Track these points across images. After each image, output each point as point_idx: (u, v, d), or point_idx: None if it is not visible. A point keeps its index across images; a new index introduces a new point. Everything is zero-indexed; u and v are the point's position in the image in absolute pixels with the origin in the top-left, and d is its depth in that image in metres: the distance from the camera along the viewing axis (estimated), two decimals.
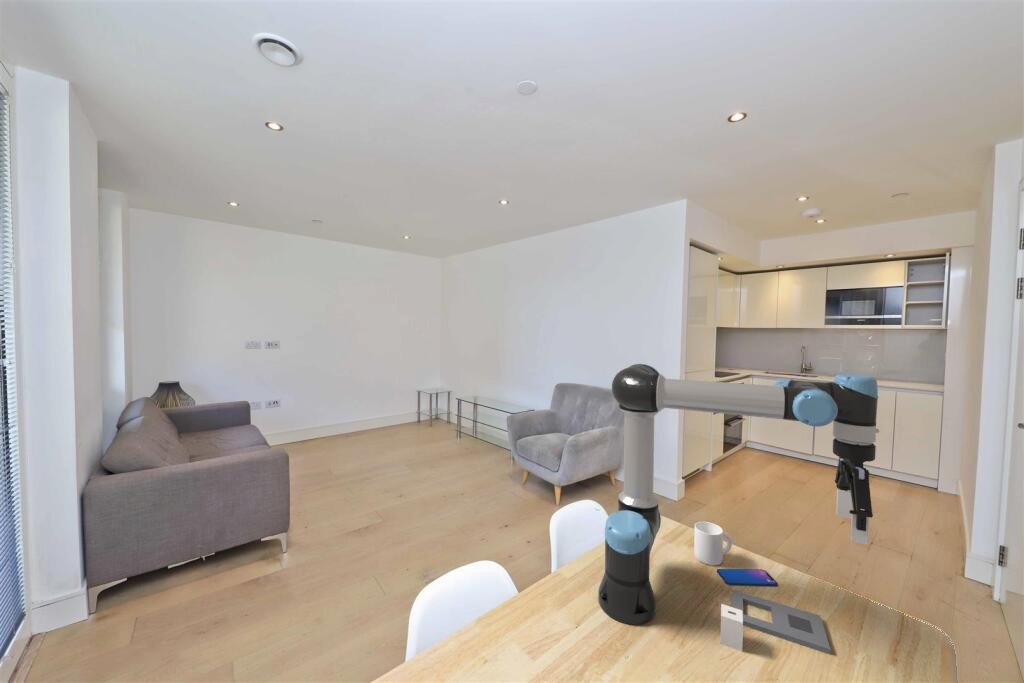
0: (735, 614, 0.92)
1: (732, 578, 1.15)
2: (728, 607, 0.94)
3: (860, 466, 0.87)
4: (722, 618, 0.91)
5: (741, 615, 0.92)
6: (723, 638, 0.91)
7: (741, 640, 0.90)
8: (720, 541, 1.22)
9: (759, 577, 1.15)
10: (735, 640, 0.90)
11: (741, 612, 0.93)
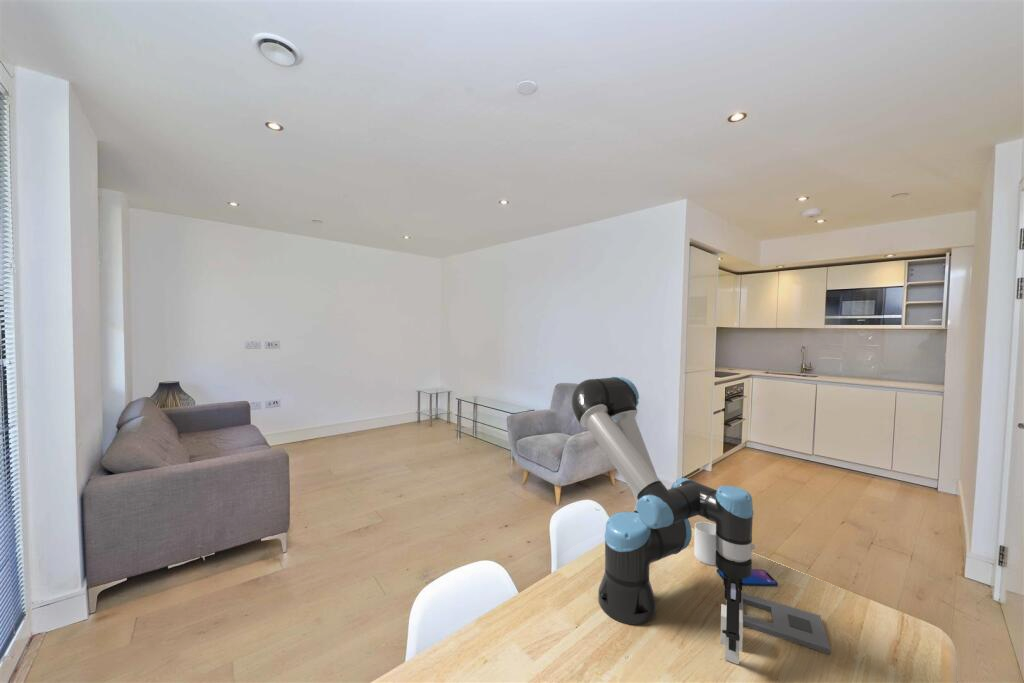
0: None
1: None
2: None
3: (735, 583, 0.88)
4: (722, 618, 0.91)
5: (741, 615, 0.92)
6: (723, 638, 0.91)
7: (741, 640, 0.90)
8: None
9: (759, 577, 1.15)
10: None
11: (741, 612, 0.93)
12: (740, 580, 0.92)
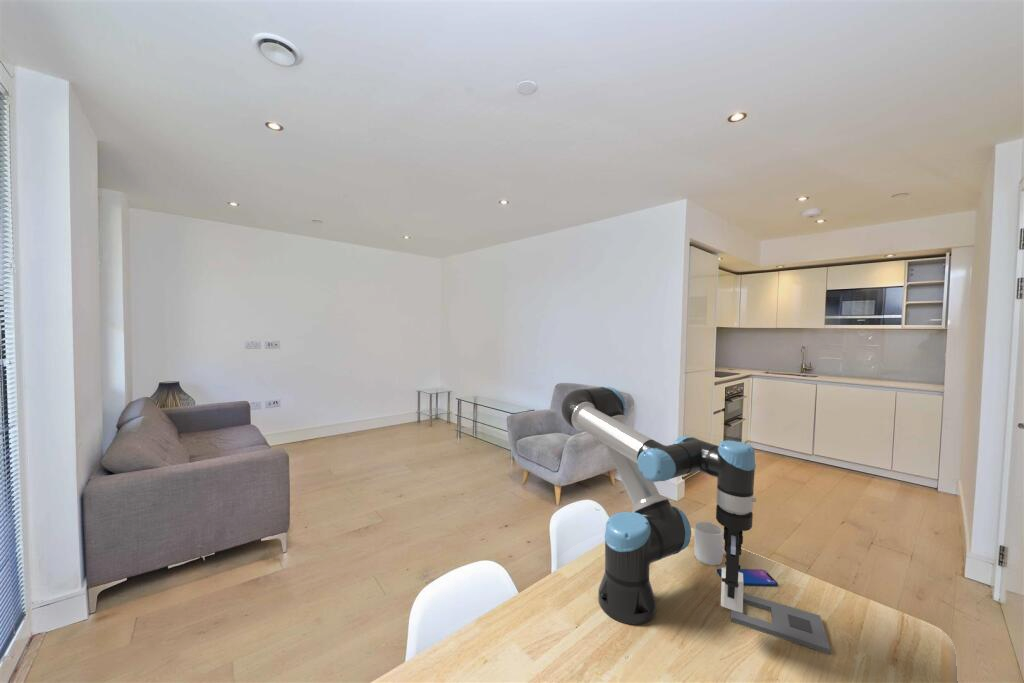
0: None
1: None
2: None
3: (735, 538, 0.88)
4: None
5: (741, 577, 0.91)
6: (723, 600, 0.91)
7: (741, 601, 0.89)
8: (720, 541, 1.22)
9: (759, 577, 1.15)
10: None
11: (741, 574, 0.92)
12: (740, 533, 0.92)
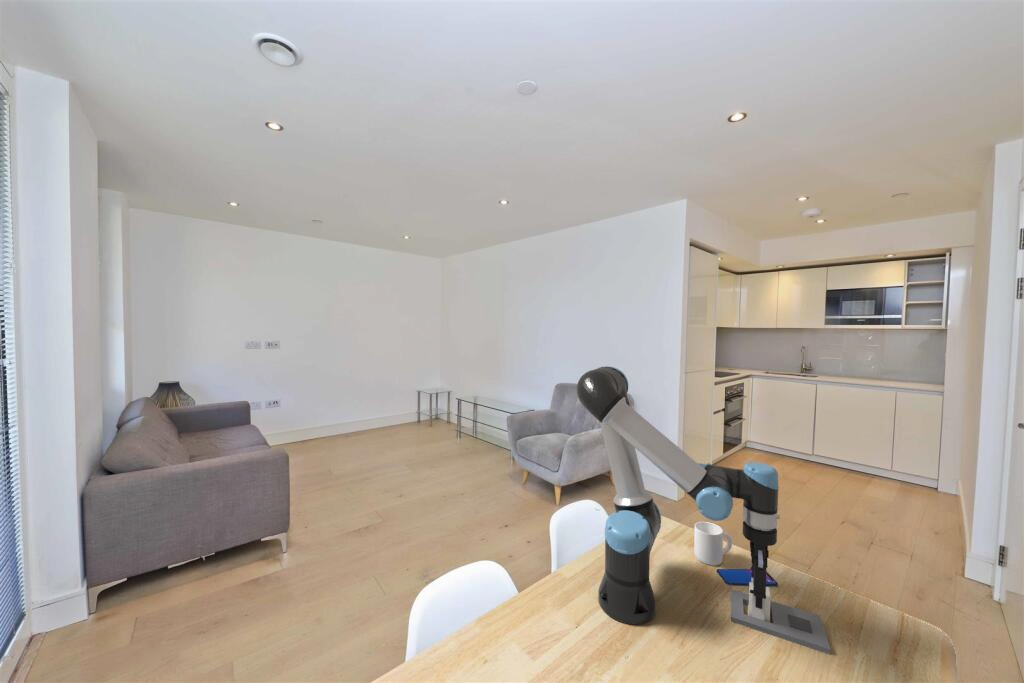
0: None
1: (731, 578, 1.15)
2: None
3: (762, 552, 0.96)
4: (751, 594, 1.00)
5: (768, 592, 1.00)
6: (751, 612, 1.00)
7: (768, 614, 0.98)
8: (720, 541, 1.22)
9: None
10: None
11: (768, 589, 1.01)
12: (766, 547, 1.00)
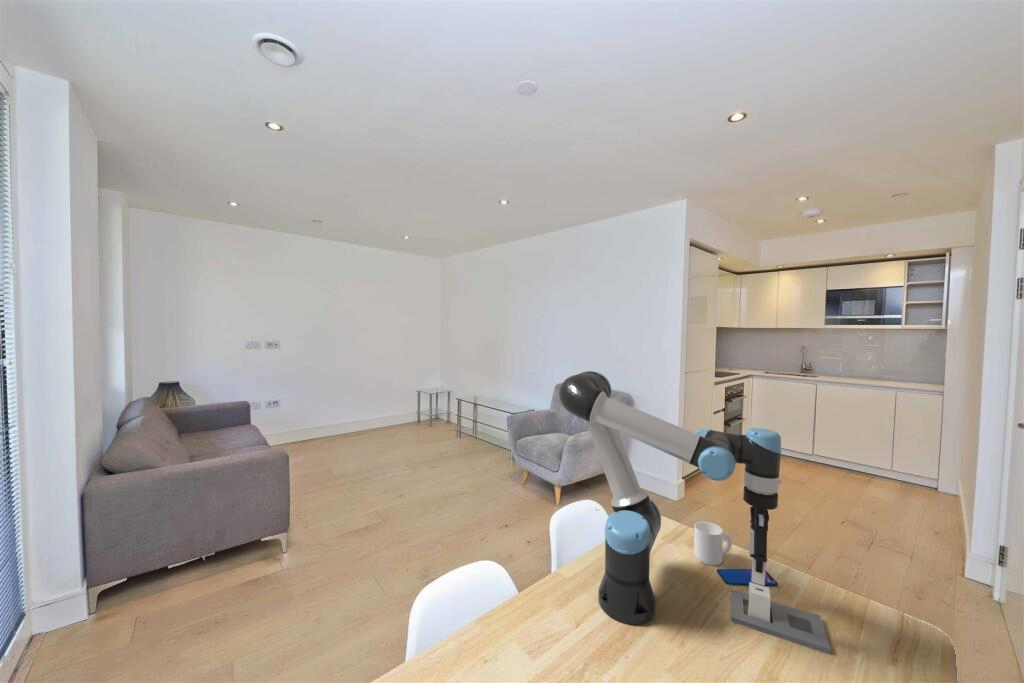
0: (763, 590, 1.00)
1: (731, 578, 1.15)
2: (756, 585, 1.02)
3: (762, 514, 0.96)
4: (751, 594, 1.00)
5: (768, 592, 1.00)
6: (751, 612, 1.00)
7: (768, 614, 0.98)
8: (720, 541, 1.22)
9: None
10: (763, 614, 0.98)
11: (768, 589, 1.01)
12: (766, 513, 1.00)
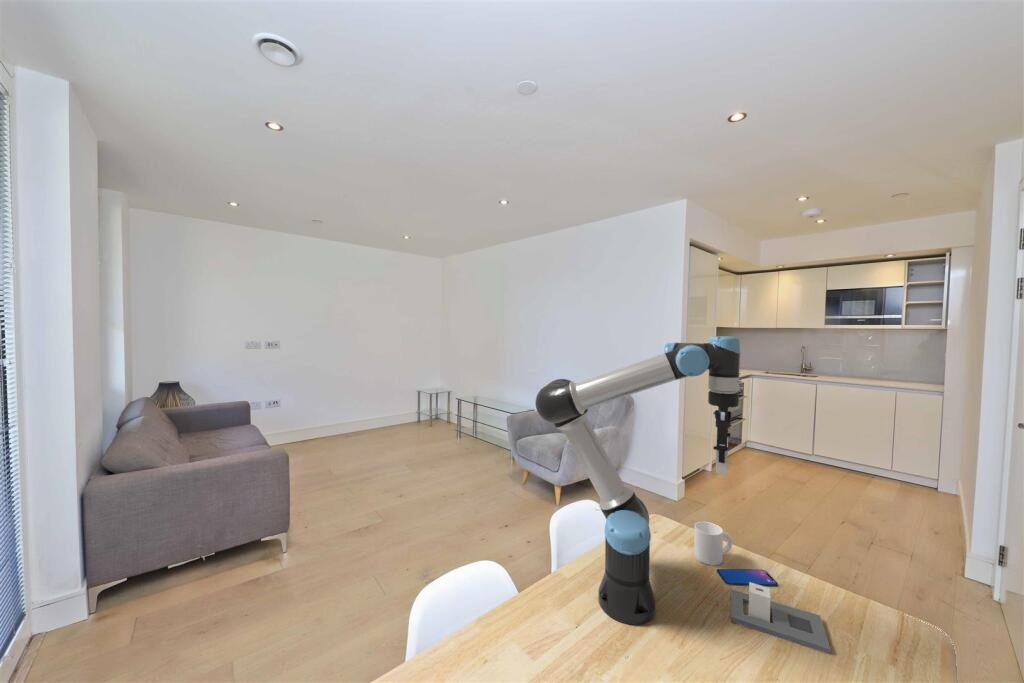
0: (763, 590, 1.00)
1: (731, 578, 1.15)
2: (756, 585, 1.02)
3: (724, 411, 1.04)
4: (751, 594, 1.00)
5: (768, 592, 1.00)
6: (751, 612, 1.00)
7: (768, 614, 0.98)
8: (720, 541, 1.22)
9: (759, 577, 1.15)
10: (763, 614, 0.98)
11: (768, 589, 1.01)
12: None
